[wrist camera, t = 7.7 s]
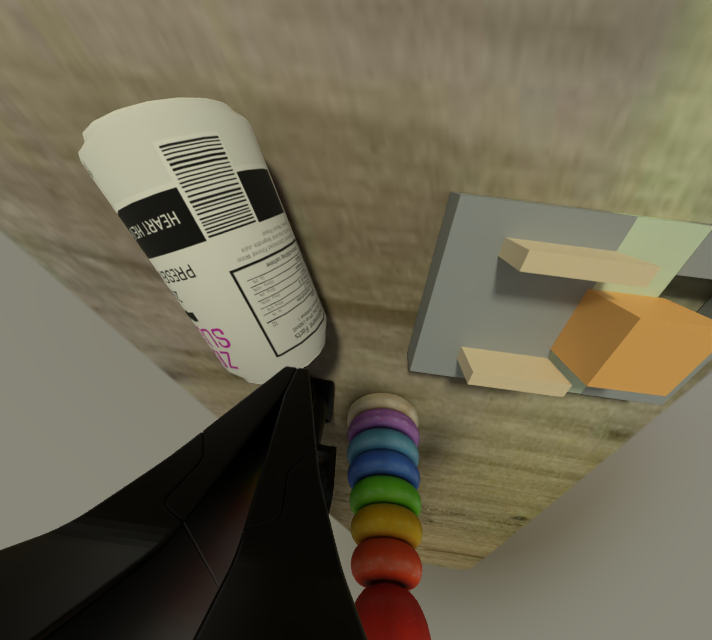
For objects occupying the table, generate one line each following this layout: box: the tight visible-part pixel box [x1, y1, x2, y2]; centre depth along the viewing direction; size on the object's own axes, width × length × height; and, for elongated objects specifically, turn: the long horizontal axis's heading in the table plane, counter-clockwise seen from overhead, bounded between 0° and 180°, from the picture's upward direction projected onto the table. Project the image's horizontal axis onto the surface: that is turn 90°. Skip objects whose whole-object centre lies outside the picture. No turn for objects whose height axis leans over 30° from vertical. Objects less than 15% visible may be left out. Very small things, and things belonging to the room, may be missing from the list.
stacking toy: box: [347, 393, 431, 640], centre depth 21 cm, size 8×8×19 cm
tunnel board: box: [407, 192, 712, 405], centre depth 18 cm, size 14×22×6 cm, turn 84°
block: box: [551, 289, 712, 396], centre depth 17 cm, size 5×5×4 cm
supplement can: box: [78, 98, 326, 384], centre depth 17 cm, size 8×8×15 cm
